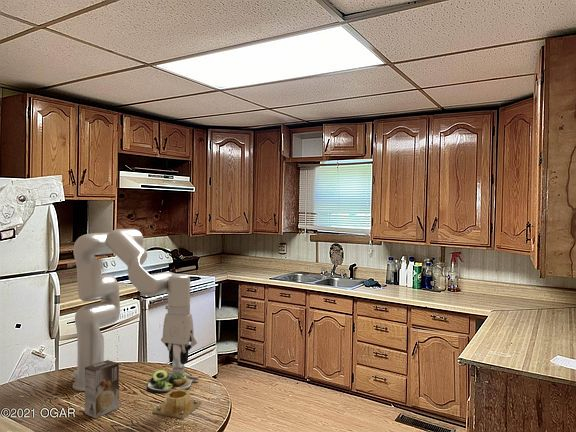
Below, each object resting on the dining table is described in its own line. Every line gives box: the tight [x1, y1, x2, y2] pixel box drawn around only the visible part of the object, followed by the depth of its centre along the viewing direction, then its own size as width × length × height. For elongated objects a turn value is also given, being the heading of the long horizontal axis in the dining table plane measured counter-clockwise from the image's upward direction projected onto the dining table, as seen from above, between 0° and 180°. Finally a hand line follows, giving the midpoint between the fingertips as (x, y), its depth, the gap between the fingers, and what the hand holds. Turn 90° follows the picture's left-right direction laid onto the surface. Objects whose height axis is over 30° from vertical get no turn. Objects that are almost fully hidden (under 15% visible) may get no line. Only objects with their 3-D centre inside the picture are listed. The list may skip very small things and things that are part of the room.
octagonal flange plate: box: [152, 388, 202, 420], centre depth 153 cm, size 12×12×5 cm
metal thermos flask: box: [171, 344, 185, 374], centre depth 152 cm, size 4×4×12 cm
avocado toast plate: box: [146, 368, 200, 394], centre depth 174 cm, size 19×18×5 cm
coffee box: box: [84, 359, 120, 419], centre depth 150 cm, size 9×6×16 cm
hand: (178, 361), depth 152 cm, fingers closed on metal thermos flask, 4 cm apart
